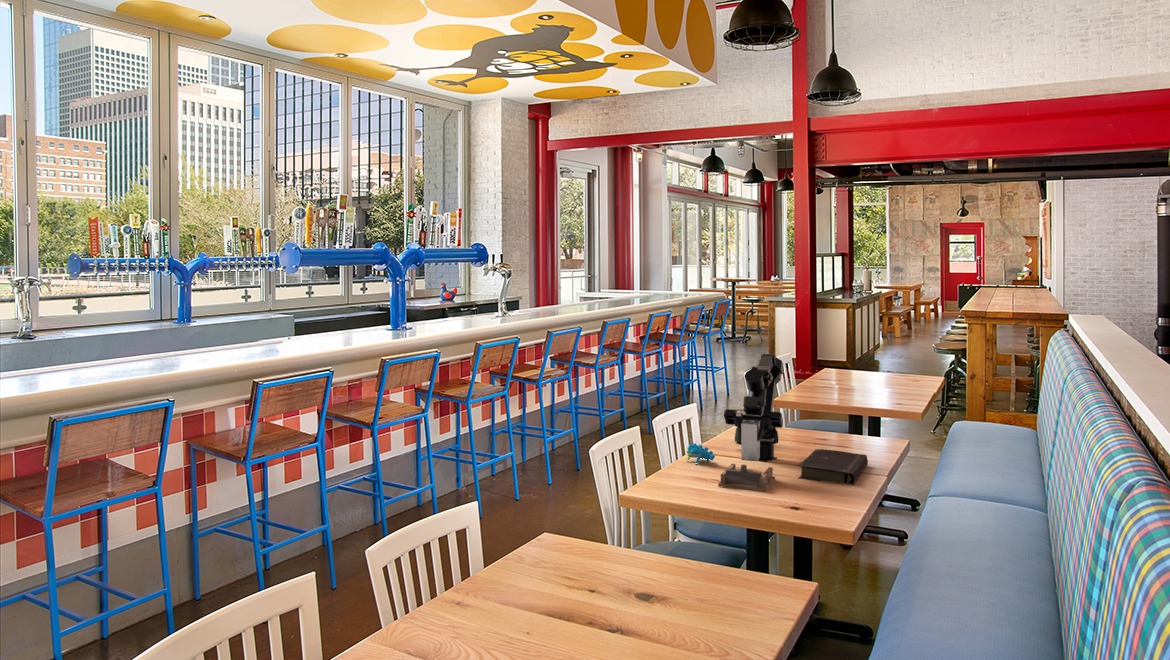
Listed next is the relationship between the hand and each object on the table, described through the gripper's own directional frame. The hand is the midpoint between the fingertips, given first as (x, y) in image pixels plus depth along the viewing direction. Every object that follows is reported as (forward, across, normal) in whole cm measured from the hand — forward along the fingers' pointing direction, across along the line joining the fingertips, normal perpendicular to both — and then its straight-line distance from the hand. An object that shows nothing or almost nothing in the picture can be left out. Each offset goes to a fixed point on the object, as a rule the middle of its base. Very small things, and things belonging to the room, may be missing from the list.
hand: (749, 439), depth 247 cm
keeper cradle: (+12, 0, +6) cm, 14 cm away
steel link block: (+4, 0, +6) cm, 7 cm away
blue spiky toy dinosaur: (-2, -21, +21) cm, 29 cm away
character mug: (-25, -12, +44) cm, 53 cm away
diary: (-3, +24, +22) cm, 33 cm away
